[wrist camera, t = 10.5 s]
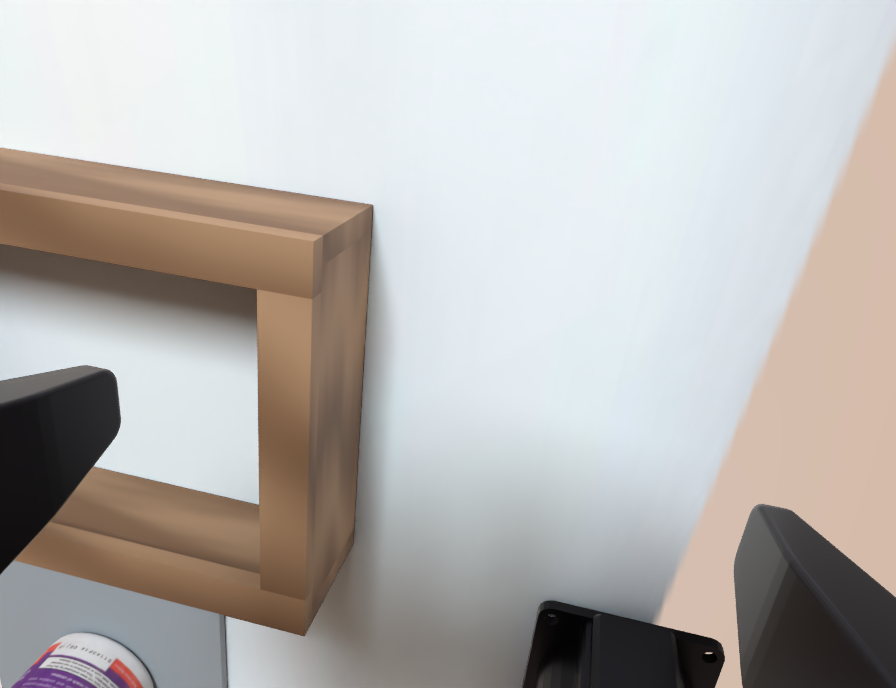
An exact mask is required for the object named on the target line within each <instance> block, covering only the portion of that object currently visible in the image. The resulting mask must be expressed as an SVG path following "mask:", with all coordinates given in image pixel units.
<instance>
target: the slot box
mask: <svg viewBox="0 0 896 688" xmlns="http://www.w3.org/2000/svg"><path fill="white" fill-rule="evenodd" d="M372 213H373V205H370V204H364V203H357V202H351V201H344V200H338V199H331V198H325V197H318V196H312V195H305V194H299V193H292V192H285V191H279V190H272V189H266V188H259V187H253V186H246V185H240V184H233V183H227V182H220V181H214V180H207V179H201V178H194V177H188V176H181V175H175V174H168V173H162V172H155V171H149V170H142V169H136V168H129V167H123V166H116V165H110V164H103V163H97V162H90V161H84V160H77V159H71V158H64V157H58V156H51V155H45V154H38V153H31V152H25V151H18V150H12V149H5V148H0V244H5V245H11V246H17V247H22V248H28V249H33V250H39V251H45V252H50V253H56V254H61V255H67V256H73V257H78V258H84V259H89V260H95V261H101V262H106V263H112V264H117V265H123V266H129V267H134V268H140V269H145V270H151V271H157V272H162V273H168V274H173V275H179V276H185V277H190V278H196V279H201V280H207V281H213V282H218V283H224V284H229V285H235V286H241V287H246V288H252V289H257V347H258V433H259V505H257V504H252V503H248V502H244V501H239V500H235V499H231V498H226V497H222V496H218V495H213V494H209V493H205V492H200V491H196V490H192V489H188V488H183V487H179V486H175V485H170V484H166V483H162V482H157V481H153V480H149V479H144V478H140V477H136V476H131V475H127V474H123V473H118V472H114V471H110V470H105V469H101V468H97V467H92V468H91V470H90V471H89V472H88V474H87V475H86V476H85V478H84V479H83V480H82V482H81V483H80V484H79V485H78V487H77V488H76V489H75V491H74V492H73V493H72V495H71V496H70V497H69V499H68V500H67V501H66V502H65V504H64V505H63V506H62V507H61V509H60V510H59V511H58V512H57V514H56V515H55V516H54V517H53V518H52V519H51V521H50V522H49V523H48V524H47V525H46V526H45V527H44V528H43V530H42V531H41V532H40V533H39V534H38V535H37V536H36V537H35V538H34V539H33V540H32V541H31V542H30V544H29V545H28V546H27V547H26V548H25V549H24V550H23V551H22V552H21V553H20V554H19V555H18V556H17V557H16V559H15V560H14V561H18V562H21V563H25V564H29V565H33V566H37V567H41V568H44V569H48V570H52V571H56V572H60V573H64V574H67V575H71V576H75V577H79V578H83V579H87V580H90V581H94V582H98V583H102V584H106V585H110V586H113V587H117V588H121V589H125V590H129V591H133V592H137V593H140V594H144V595H148V596H152V597H156V598H160V599H163V600H167V601H171V602H175V603H179V604H183V605H186V606H190V607H194V608H198V609H202V610H206V611H209V612H213V613H217V614H221V615H225V616H229V617H232V618H236V619H240V620H244V621H248V622H252V623H255V624H259V625H263V626H267V627H271V628H275V629H278V630H282V631H286V632H290V633H294V634H298V635H301V636H305V634H306V632H307V630H308V628H309V627H310V625H311V623H312V621H313V619H314V617H315V615H316V613H317V611H318V610H319V608H320V606H321V604H322V602H323V600H324V598H325V596H326V594H327V593H328V591H329V589H330V587H331V585H332V583H333V581H334V579H335V577H336V575H337V574H338V572H339V570H340V568H341V566H342V564H343V562H344V560H345V558H346V557H347V555H348V553H349V551H350V549H351V547H352V545H353V538H354V521H355V504H356V487H357V470H358V453H359V435H360V418H361V401H362V384H363V367H364V350H365V333H366V315H367V298H368V281H369V264H370V247H371V230H372Z"/></svg>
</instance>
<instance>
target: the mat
mask: <svg viewBox="0 0 896 688" xmlns="http://www.w3.org/2000/svg"><path fill="white" fill-rule="evenodd" d="M81 632H84V633H93V634H97V635H101V636H104V637H107V638H109V639H111V640H114V641H116V642H118V643H119V644H121V645H123V646H124V647H126V648H127V649H128V650H129V651H131V652H132V653H133V654H134V655H135V656H136V657H137V658H138V659H139V660H140V661H141V663H142V664H143V665H144V667H145V668H146V670H147V672H148V673H149V675H150V677H151V680H152V683H153V687H154V688H227V669H226V645H225V620H224V615H221V614H217V613H213V612H209V611H206V610H202V609H198V608H194V607H190V606H186V605H183V604H179V603H175V602H171V601H167V600H163V599H160V598H156V597H152V596H148V595H144V594H140V593H137V592H133V591H129V590H125V589H121V588H117V587H113V586H110V585H106V584H102V583H98V582H94V581H90V580H87V579H83V578H79V577H75V576H71V575H67V574H64V573H60V572H56V571H52V570H48V569H44V568H41V567H37V566H33V565H29V564H25V563H21V562H18V561H13V562H12V563H11V564H10V565H9V566H8V567H7V568H6V569H5V570H4V571H3V573H2V574H1V575H0V679H1V684H2V688H11V687H12V686H13V685H14V684H15V683H16V682H17V681H18V680H19V679H20V678H21V677H22V676H23V674H24V673H25V672H26V671H27V670H28V669H29V668H30V667H31V666H32V665H33V664H34V663H35V662H36V661H37V660H38V659H39V657H40V656H41V655H42V654H43V653H44V652H45V651H46V650H47V649H48V648H49V647H50V646H51V645H52V644H53V643H54V642H56V641H57V640H58V639H60V638H61V637H63V636H66V635H68V634H72V633H81Z"/></svg>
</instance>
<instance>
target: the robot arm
mask: <svg viewBox="0 0 896 688" xmlns="http://www.w3.org/2000/svg"><path fill="white" fill-rule="evenodd" d="M120 423H121V415H120V406H119V396H118V387H117V380H116V377H115V375H114V374H113V373H112V372H111V371H110V370H107V369H102V368H98V367H93V366H86V365H84V366H77V367H72V368H67V369H61V370H56V371H51V372H45V373H40V374H35V375H29V376H24V377H19V378H13V379H8V380H3V381H0V575H1V574H2V573H3V571H4V570H5V569H6V568H7V567H8V566H9V565H10V564H11V563H12V562H13V561H14V560H15V559H16V557H17V556H18V555H19V554H20V553H21V552H22V551H23V550H24V549H25V548H26V547H27V546H28V545H29V544H30V542H31V541H32V540H33V539H34V538H35V537H36V536H37V535H38V534H39V533H40V532H41V531H42V530H43V528H44V527H45V526H46V525H47V524H48V523H49V522H50V521H51V519H52V518H53V517H54V516H55V515H56V514H57V512H58V511H59V510H60V509H61V507H62V506H63V505H64V504H65V502H66V501H67V500H68V499H69V497H70V496H71V495H72V493H73V492H74V491H75V489H76V488H77V487H78V485H79V484H80V483H81V482H82V480H83V479H84V478H85V476H86V475H87V474H88V472H89V471H90V470H91V468H92V467H93V466H94V465H95V463H96V462H97V461H98V459H99V458H100V457H101V455H102V454H103V453H104V451H105V450H106V449H107V448H108V446H109V445H110V444H111V442H112V441H113V440H114V438H115V437H116V435H117V433H118V431H119V428H120ZM734 582H735V597H736V610H737V624H738V638H739V653H740V666H741V676H742V685H743V688H896V597H894V596H893V595H892V594H891V593H890V592H889V591H887V590H886V589H885V588H884V587H883V586H881V585H880V584H879V583H878V582H876V581H875V580H874V579H873V578H872V577H871V576H869V575H868V574H867V573H866V572H865V571H863V570H862V569H861V568H860V567H859V566H857V565H856V564H855V563H854V562H853V561H851V560H850V559H849V558H848V557H847V556H845V555H844V554H843V553H842V552H840V551H839V550H838V549H837V548H836V547H835V546H833V545H832V544H831V543H830V542H829V541H827V540H826V539H825V538H824V537H823V536H822V535H820V534H819V533H818V532H817V531H815V530H814V529H813V528H812V527H811V526H809V525H808V524H807V523H806V522H805V521H803V520H802V519H801V518H800V517H799V516H798V515H796V514H795V513H794V512H793V511H791V510H788V509H784V508H780V507H775V506H770V505H765V504H758V505H756V506H755V507H754V508H753V509H752V511H751V513H750V516H749V519H748V521H747V524H746V527H745V530H744V533H743V536H742V539H741V542H740V544H739V547H738V550H737V553H736V557H735V562H734ZM548 614H554V615H556V617H551V616H549V615H548ZM706 652H712V654H705V653H706ZM724 661H725V656H724V651H723V647H722V645H721V643H719V642H718V641H717V640H715V639H712V638H708V637H704V636H700V635H696V634H691V633H687V632H683V631H679V630H675V629H671V628H666V627H662V626H658V625H654V624H650V623H645V622H641V621H637V620H633V619H629V618H624V617H620V616H616V615H612V614H607V613H603V612H599V611H595V610H591V609H586V608H582V607H578V606H574V605H570V604H565V603H561V602H557V601H545V602H543V603H542V604H541V605H540V607H539V609H538V614H537V619H536V624H535V629H534V633H533V638H532V643H531V648H530V653H529V658H528V662H527V667H526V672H525V677H524V682H523V686H522V688H715V685H716V683H717V680H718V677H719V675H720V672H721V669H722V667H723V664H724Z"/></svg>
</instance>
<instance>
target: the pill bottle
mask: <svg viewBox="0 0 896 688" xmlns="http://www.w3.org/2000/svg"><path fill="white" fill-rule="evenodd" d="M11 688H154V687H153V683H152V680H151V677H150V675H149V673H148V672H147V670H146V668H145V667H144V665H143V664H142V663H141V661H140V660H139V659H138V658H137V657H136V656H135V655H134V654H133V653H132V652H131V651H129V650H128V649H127V648H126V647H124V646H123V645H121V644H119V643H118V642H116V641H114V640H111V639H109V638H107V637H104V636H101V635H97V634H93V633H84V632H81V633H72V634H68V635H66V636H63V637H61V638H60V639H58V640H57V641H56V642H54V643H53V644H52V645H51V646H50V647H49V648H48V649H47V650H46V651H45V652H44V653H43V654H42V655H41V656H40V657H39V659H38V660H37V661H36V662H35V663H34V664H33V665H32V666H31V667H30V668H29V669H28V670H27V671H26V672H25V673H24V674H23V676H22V677H21V678H20V679H19V680H18V681H17V682H16V683H15V684H14V685H13V686H12V687H11Z"/></svg>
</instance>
